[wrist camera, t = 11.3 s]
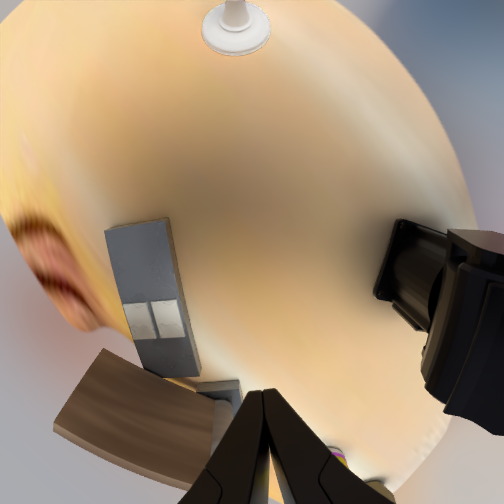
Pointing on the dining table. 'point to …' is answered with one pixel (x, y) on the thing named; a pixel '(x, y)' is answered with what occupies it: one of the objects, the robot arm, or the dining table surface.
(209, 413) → the walnut gate
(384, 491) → the squeeze bottle
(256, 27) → the chess piece
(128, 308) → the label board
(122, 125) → the dining table surface
